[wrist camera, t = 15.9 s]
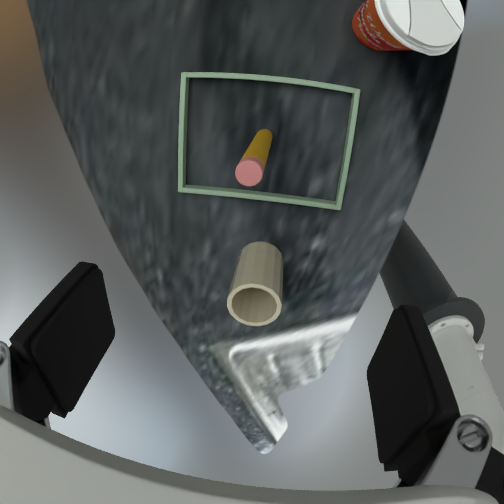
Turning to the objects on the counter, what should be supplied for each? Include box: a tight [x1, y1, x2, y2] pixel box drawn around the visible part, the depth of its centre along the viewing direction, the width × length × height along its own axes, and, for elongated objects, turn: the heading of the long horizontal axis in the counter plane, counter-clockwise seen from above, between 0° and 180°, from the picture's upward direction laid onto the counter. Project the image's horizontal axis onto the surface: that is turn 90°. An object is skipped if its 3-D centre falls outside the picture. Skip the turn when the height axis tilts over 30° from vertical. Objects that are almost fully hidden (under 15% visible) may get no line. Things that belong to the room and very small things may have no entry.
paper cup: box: [352, 0, 464, 55], centre depth 21 cm, size 8×8×14 cm
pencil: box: [235, 129, 272, 186], centre depth 27 cm, size 2×2×16 cm
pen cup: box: [227, 242, 283, 326], centre depth 38 cm, size 6×6×10 cm
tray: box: [178, 72, 360, 210], centre depth 34 cm, size 19×14×2 cm
